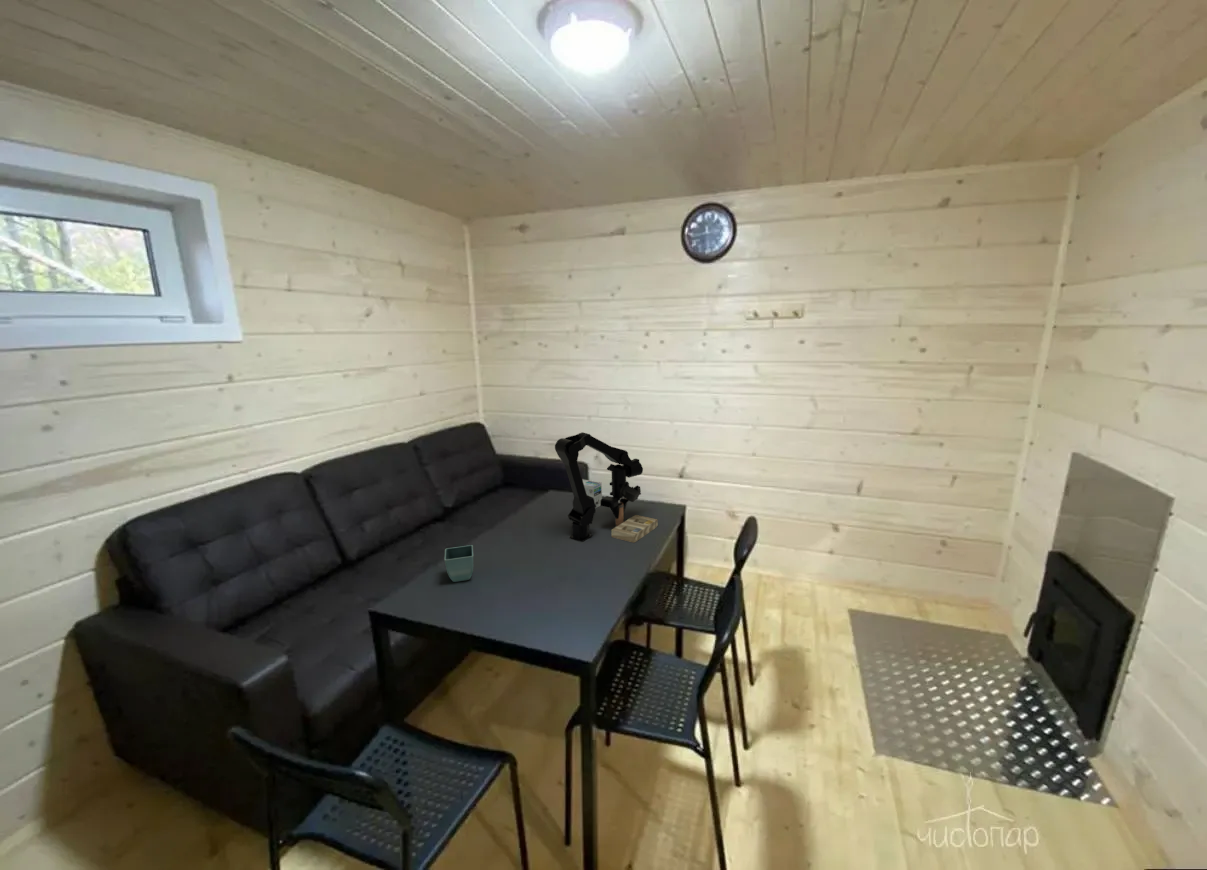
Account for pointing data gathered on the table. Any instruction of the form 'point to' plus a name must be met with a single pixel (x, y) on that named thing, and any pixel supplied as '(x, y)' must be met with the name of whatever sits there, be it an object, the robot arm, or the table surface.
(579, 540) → the robot arm
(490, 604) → the table surface
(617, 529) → the socket block
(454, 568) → the flower pot
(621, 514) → the plug
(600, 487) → the light bulb box
